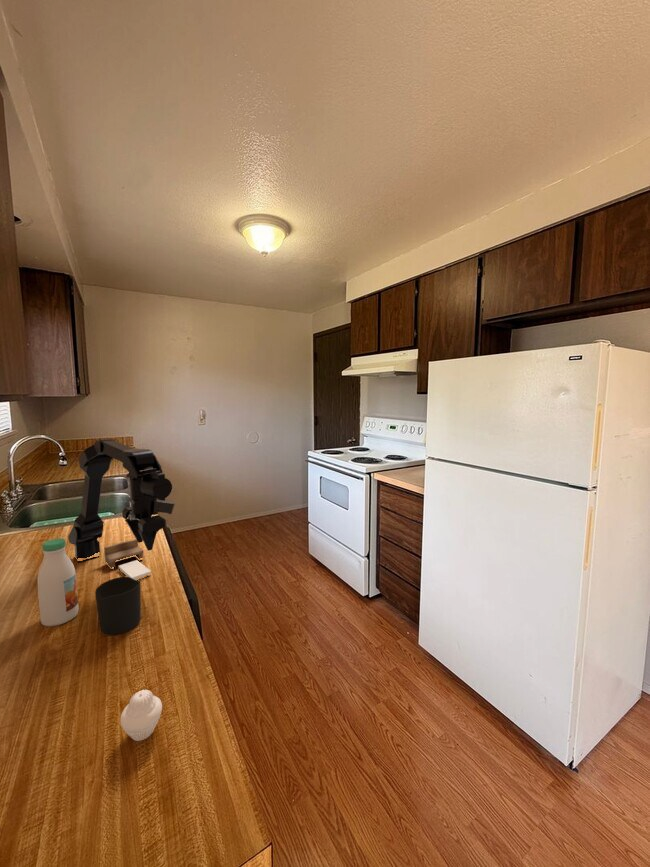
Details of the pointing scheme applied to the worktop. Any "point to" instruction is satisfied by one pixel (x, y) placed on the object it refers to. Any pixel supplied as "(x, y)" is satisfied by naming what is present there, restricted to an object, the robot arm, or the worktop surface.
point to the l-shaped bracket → (122, 551)
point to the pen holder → (118, 605)
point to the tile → (134, 569)
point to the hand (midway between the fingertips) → (145, 546)
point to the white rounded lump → (141, 715)
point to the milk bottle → (57, 585)
